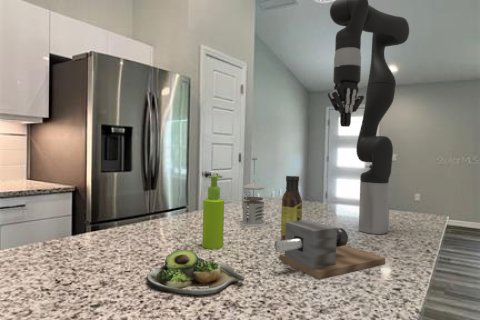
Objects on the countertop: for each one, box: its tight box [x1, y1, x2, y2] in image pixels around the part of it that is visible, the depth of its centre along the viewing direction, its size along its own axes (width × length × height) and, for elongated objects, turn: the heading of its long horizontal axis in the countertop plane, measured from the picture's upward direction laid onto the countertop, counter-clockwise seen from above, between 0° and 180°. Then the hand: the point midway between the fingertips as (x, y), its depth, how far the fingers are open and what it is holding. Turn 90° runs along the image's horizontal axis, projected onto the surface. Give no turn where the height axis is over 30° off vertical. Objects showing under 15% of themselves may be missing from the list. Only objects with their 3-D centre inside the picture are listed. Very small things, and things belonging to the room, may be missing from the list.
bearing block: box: [278, 219, 386, 280], centre depth 85 cm, size 22×14×10 cm, turn 121°
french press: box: [239, 156, 267, 228], centre depth 126 cm, size 10×12×25 cm
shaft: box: [273, 227, 349, 253], centre depth 82 cm, size 20×5×5 cm, turn 121°
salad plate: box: [146, 249, 246, 296], centre depth 72 cm, size 19×18×5 cm
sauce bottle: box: [280, 175, 303, 240], centre depth 105 cm, size 7×6×20 cm
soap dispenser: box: [201, 174, 225, 250], centre depth 97 cm, size 6×7×20 cm
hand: (345, 126), depth 100 cm, fingers closed
